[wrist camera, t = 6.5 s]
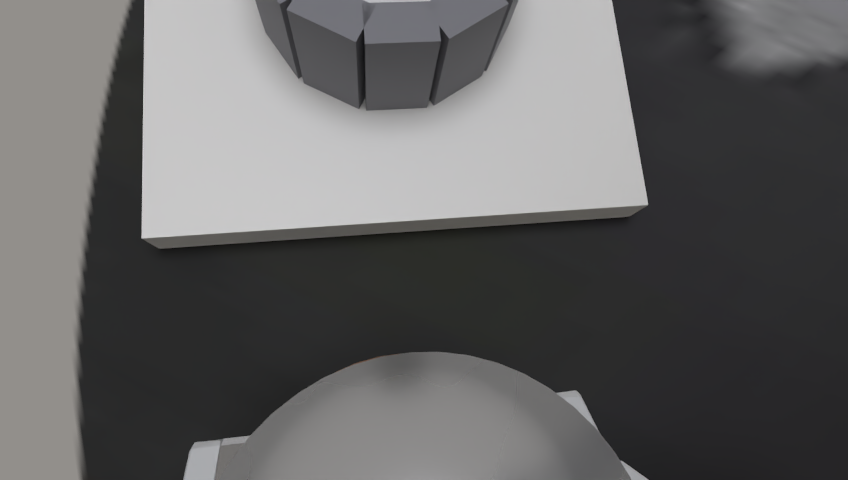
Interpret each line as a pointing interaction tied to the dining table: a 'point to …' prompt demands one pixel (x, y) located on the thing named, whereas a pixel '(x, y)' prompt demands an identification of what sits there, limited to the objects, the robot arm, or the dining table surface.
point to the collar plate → (381, 118)
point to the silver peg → (426, 427)
